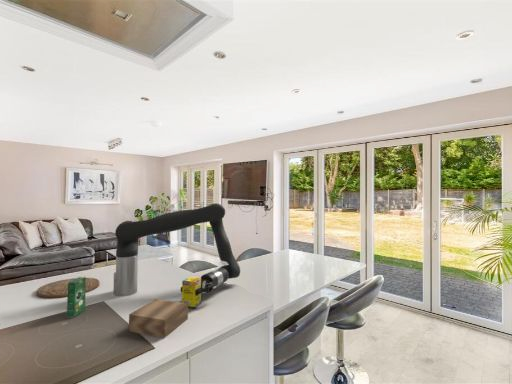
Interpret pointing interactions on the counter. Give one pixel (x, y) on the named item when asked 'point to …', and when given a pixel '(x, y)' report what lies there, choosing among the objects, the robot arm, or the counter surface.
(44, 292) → the trivet
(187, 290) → the supplement box
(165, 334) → the walnut riser block
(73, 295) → the coffee box
